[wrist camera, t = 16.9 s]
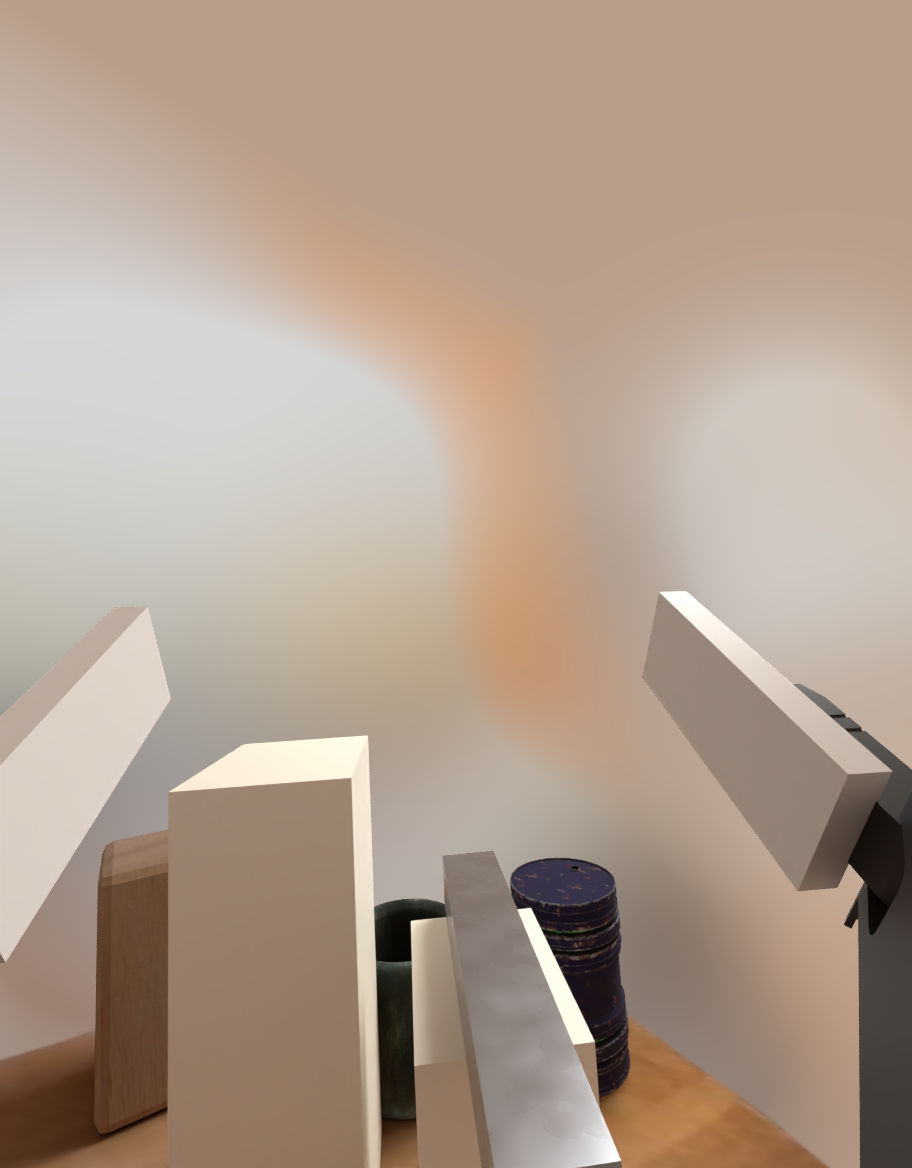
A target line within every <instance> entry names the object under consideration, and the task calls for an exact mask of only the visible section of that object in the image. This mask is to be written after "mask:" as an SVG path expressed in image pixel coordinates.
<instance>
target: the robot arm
mask: <svg viewBox="0 0 912 1168" xmlns="http://www.w3.org/2000/svg"><path fill="white" fill-rule="evenodd" d="M643 679H644V680H645V681H646V683H647V684H648V686H649V687H650V688H651V689H652V691H653V693H654V694H655V695H656V697H657V698H658V699H659V701H660V702H661V704H662V705H663V706H664V708H665V709H666V710H667V712H668V713H669V714H670V716H671V717H672V719H673V720H674V721H675V723H676V724H677V726H678V727H679V728H680V730H681V731H682V733H683V734H684V735H685V737H686V738H687V739H688V741H689V742H690V743H691V745H692V746H693V747H694V749H695V750H696V752H697V753H698V755H699V756H700V757H701V759H702V760H703V761H704V763H705V764H706V765H707V767H708V768H709V769H710V771H711V772H712V774H713V775H714V777H715V778H716V779H717V781H718V782H719V783H720V785H721V786H722V787H723V789H724V790H725V792H726V793H727V794H728V796H729V797H730V798H731V800H732V801H733V803H734V804H735V805H736V807H737V808H738V810H739V811H740V812H741V814H742V815H743V816H744V818H745V819H746V821H747V822H748V823H749V824H750V826H751V827H752V829H753V830H754V831H755V833H756V834H757V836H758V837H759V838H760V840H761V841H762V843H763V844H764V845H765V847H766V848H767V849H768V851H769V852H770V854H771V855H772V856H773V858H774V859H775V861H776V862H777V863H778V865H779V866H780V867H781V869H782V870H783V871H784V873H785V874H786V876H787V877H788V878H789V880H790V881H791V882H792V884H793V885H794V887H795V888H796V889H797V891H806V890H817V889H827V888H837V887H838V885H839V883H840V881H841V879H842V877H843V875H844V872H845V870H846V868H847V866H848V864H850V865H851V866H852V867H853V869H854V870H855V871H856V872H857V873H858V874H859V875H860V877H861V878H862V879H863V880H864V881H865V882H864V884H863V886H862V888H861V890H860V891H859V893H858V895H857V898H856V899H855V902H854V903H853V906H852V908H851V909H850V911H849V913H848V916H847V918H846V921H845V923H844V925H845V926H847V927H849V928H852V926H853V924H854V923H855V921H856V919H858V934H859V935H858V936H859V937H858V941H859V1065H860V1066H859V1075H860V1076H859V1077H860V1168H912V770H911V769H910V768H909V767H908V766H907V765H905V764H904V763H903V762H902V761H900V760H899V759H898V758H897V757H896V756H895V755H893V754H892V753H891V752H890V751H889V750H887V749H886V748H885V747H884V746H883V745H881V744H880V743H879V742H878V741H877V740H876V739H874V738H873V737H872V736H871V735H869V734H868V733H867V732H866V731H862V730H861V727H860V726H859V725H858V724H856V723H855V722H854V721H853V720H851V719H850V718H849V717H848V718H846V717H845V714H844V713H843V712H842V711H841V710H840V709H838V708H837V707H836V706H835V705H834V704H833V703H831V702H830V701H829V700H828V699H826V698H825V697H823V696H821V695H820V694H818V693H816V692H814V691H812V690H810V689H808V688H807V687H805V686H803V685H801V684H792V683H791V682H790V681H789V680H787V679H786V678H785V677H784V676H783V675H782V674H781V673H779V672H778V671H777V670H776V669H775V668H774V667H773V666H771V665H770V664H769V663H768V662H767V661H766V660H764V659H763V658H762V657H761V656H760V655H759V654H757V653H756V652H755V651H754V650H753V649H752V648H751V647H749V646H748V645H747V644H746V643H745V642H744V641H743V640H742V639H740V638H739V637H738V636H737V635H736V634H735V633H734V632H732V631H731V630H730V629H729V628H728V627H727V626H725V625H724V624H723V623H722V622H721V621H720V620H719V619H717V618H716V617H715V616H714V615H713V614H712V613H710V612H709V611H708V610H707V609H706V608H705V607H704V606H703V605H701V604H700V603H699V602H698V601H697V600H696V599H695V598H693V597H692V596H691V595H690V594H689V593H688V592H686V591H681V592H659V596H658V601H657V606H656V611H655V616H654V621H653V627H652V631H651V636H650V642H649V647H648V652H647V657H646V662H645V667H644V672H643ZM170 699H171V698H170V694H169V690H168V686H167V682H166V678H165V674H164V670H163V666H162V662H161V658H160V654H159V650H158V646H157V642H156V638H155V634H154V630H153V626H152V622H151V618H150V614H149V610H148V607H118V608H117V607H116V608H114V609H112V610H111V612H109V613H108V614H107V615H106V616H105V617H104V618H103V619H102V620H101V621H100V622H99V623H98V624H97V625H96V626H95V627H94V628H93V629H92V630H90V632H89V633H87V634H86V636H84V637H83V638H82V639H81V640H80V641H79V642H78V643H77V644H76V645H75V646H74V647H73V648H72V649H71V650H70V651H69V652H67V653H66V654H65V655H64V656H63V657H62V658H61V659H60V660H59V661H58V662H57V663H56V664H55V665H54V666H53V667H52V668H51V669H50V670H49V671H48V672H46V673H45V674H44V675H43V676H42V678H40V679H39V680H38V681H37V682H36V683H35V684H34V685H33V686H32V687H31V688H30V689H29V690H28V691H27V692H26V693H25V694H24V695H23V696H21V697H20V698H19V699H18V700H17V701H16V702H15V703H14V704H13V705H12V706H11V707H10V708H9V709H8V710H7V711H6V712H5V713H4V714H3V715H2V716H0V963H4V962H6V960H7V959H8V957H9V956H10V954H11V953H12V951H13V950H14V948H15V946H16V945H17V943H18V941H19V940H20V938H21V936H22V935H23V934H24V932H25V930H26V929H27V927H28V926H29V924H30V922H31V921H32V919H33V918H34V916H35V914H36V913H37V911H38V909H39V908H40V906H41V905H42V903H43V902H44V900H45V898H46V897H47V895H48V894H49V892H50V890H51V889H52V887H53V886H54V884H55V882H56V881H57V879H58V878H59V876H60V875H61V873H62V871H63V870H64V868H65V866H66V865H67V863H68V862H69V860H70V858H71V857H72V855H73V854H74V852H75V851H76V849H77V847H78V846H79V844H80V843H81V841H82V839H83V838H84V836H85V834H86V833H87V831H88V830H89V828H90V827H91V825H92V823H93V822H94V820H95V819H96V817H97V815H98V814H99V812H100V811H101V809H102V807H103V806H104V804H105V803H106V801H107V799H108V798H109V796H110V795H111V793H112V791H113V790H114V788H115V787H116V785H117V784H118V782H119V780H120V779H121V777H122V775H123V774H124V772H125V771H126V769H127V767H128V766H129V764H130V763H131V761H132V760H133V758H134V756H135V755H136V753H137V752H138V750H139V748H140V747H141V745H142V744H143V742H144V740H145V739H146V737H147V736H148V734H149V732H150V731H151V729H152V728H153V726H154V724H155V722H156V721H157V720H158V718H159V716H160V715H161V713H162V712H163V710H164V708H165V707H166V705H167V704H168V702H169V701H170Z"/></svg>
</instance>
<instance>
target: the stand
mask: <svg viewBox="0 0 912 1168" xmlns="http://www.w3.org/2000/svg"><path fill="white" fill-rule="evenodd" d="M368 754H369V753H368V736H356V737H355V736H354V737H340V738H327V739H313V740H298V741H284V742H270V743H255V744H244V745H242V746H241V747H239V748H237V749H236V750H234V751H233V752H231V753H230V754H228V755H226V756H225V757H223V758H222V759H220V760H219V761H217V762H215V763H214V764H212V765H211V766H209V767H208V768H206V769H204V770H203V771H201V772H200V773H198V774H196V775H195V776H193V777H192V778H190V779H189V780H187V781H185V782H184V783H182V784H181V785H179V786H178V787H176V788H175V789H173V790H171V791H170V792H169V837H168V1136H167V1168H380V1158H381V1136H382V1124H381V1096H380V1067H379V1038H378V1010H377V981H376V953H375V924H374V895H373V867H372V840H371V810H370V781H369V755H368Z"/></svg>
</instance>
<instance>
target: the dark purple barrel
mask: <svg viewBox="0 0 912 1168" xmlns="http://www.w3.org/2000/svg"><path fill="white" fill-rule="evenodd" d="M510 884H511V892H512V894H511V895H512V898H513V900H514V902H515V905H516V907H517V909H526V908H531V909H532V911H533V913H534V915H535V917H536V920H537V922H538V924H539V926H540V928H541V930H542V932H543V934H544V936H545V938H546V940H547V943H548V945H549V947H550V949H551V951H552V953H553V955H554V957H555V959H556V961H557V964H558V966H559V968H560V970H561V972H562V974H563V976H564V978H565V980H566V982H567V984H568V987H569V989H570V991H571V993H572V995H573V997H574V999H575V1001H576V1003H577V1005H578V1007H579V1010H580V1012H581V1014H582V1016H583V1018H584V1020H585V1022H586V1024H587V1026H588V1028H589V1030H590V1033H591V1035H592V1037H593V1039H594V1041H595V1050H596V1064H597V1077H598V1090H599V1097H602V1096H605V1095H607V1094H609V1093H611V1092H613V1091H614V1090H616V1089H617V1088H618V1087H620V1086H621V1085H622V1084H623V1082H624V1081H625V1079H626V1078H627V1075H628V1073H629V1068H630V1057H629V1049H628V1034H629V1028H628V1016H627V1011H626V1003H625V993H624V990H623V987H622V985H621V977H620V966H619V953H620V948H621V934H620V931H619V930H620V918H619V910H618V907H617V897H616V882H615V878H614V877H613V875H612V874H611V873H610V872H609V871H608V870H606V869H605V868H603V867H601V866H599V865H597V864H594V863H592V862H588V861H584V860H579V859H572V858H546V859H539V860H535V861H531V862H528V863H526V864H523V865H521V866H520V867H518V868H517V869H516V870H515V871H514V872H513V873H512V875H511V877H510Z"/></svg>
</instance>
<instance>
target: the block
mask: <svg viewBox="0 0 912 1168" xmlns="http://www.w3.org/2000/svg"><path fill="white" fill-rule="evenodd" d="M168 837H169V830H165V831H160V832H155V833H150V834H145V835H140V836H136V837H131V838H126V839H121V840H116V841H114V842H112V843H110V844H108V845H106V847H105V850H104V852H103V854H102V860H101V867H100V874H99V881H98V908H97V910H98V911H97V913H98V914H97V967H96V1027H95V1087H94V1124H95V1126H96V1128H97V1130H98V1131H99V1133H100V1134H102V1133H109V1132H112V1131H114V1130H116V1129H118V1128H121V1127H123V1126H125V1125H127V1124H130V1123H132V1122H134V1121H136V1120H139V1119H141V1118H143V1117H145V1116H148V1115H150V1114H152V1113H154V1112H157V1111H159V1110H161V1109H164V1108H166V1107H168Z"/></svg>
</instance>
